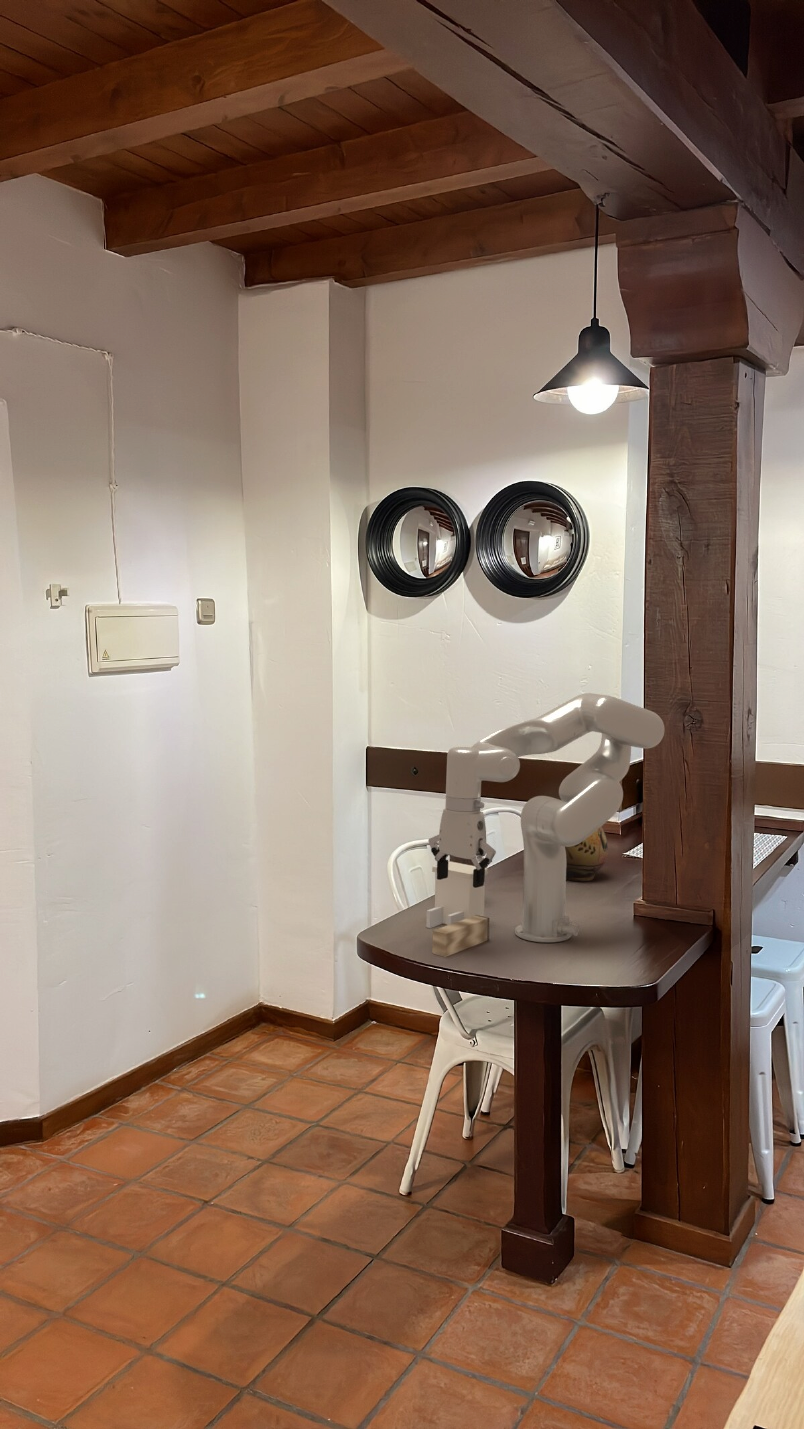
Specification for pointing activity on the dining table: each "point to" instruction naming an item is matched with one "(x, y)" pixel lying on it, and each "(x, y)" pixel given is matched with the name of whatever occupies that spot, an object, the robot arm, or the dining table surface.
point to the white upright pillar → (456, 896)
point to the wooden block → (460, 935)
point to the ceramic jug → (586, 857)
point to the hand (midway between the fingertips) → (460, 882)
